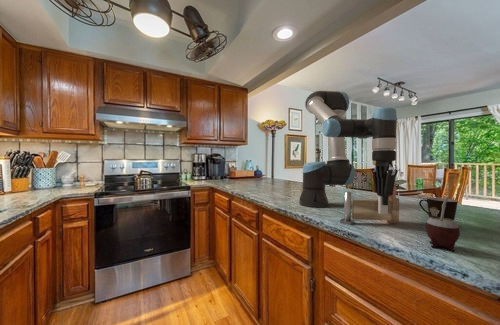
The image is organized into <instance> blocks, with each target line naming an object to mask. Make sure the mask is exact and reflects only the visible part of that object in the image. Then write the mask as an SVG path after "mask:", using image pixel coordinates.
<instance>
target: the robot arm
mask: <svg viewBox="0 0 500 325" xmlns="http://www.w3.org/2000/svg"><path fill="white" fill-rule="evenodd" d="M304 103H305V104H304V106H305V108H306V111H308V113H309V114H313V115H314V117H316V119H317V120H318V121H319V123H321V124H322V128H321V129H322V133H323V136H325V137H326V138H327V140H328V141H327V142H328V156H329V157H328V159H327V160H326V161H323V160H322V161H313V162H312V161H311V162H306V163H304V164H303V166H302V191H301V194H300V197H299V201H298V202H299V203H298V204H299V205H300V206H303V207H310V208H327V207H329V199H328V196H327V193H326V186H341V187H342V186H349V185H351V184H352V183H353V181H354V180H355V178H356V169H355V166H354V165H353V164H351V163H350V159H349V158H348V157H347V153H346V152H347V151H346V140H345V138H357V139H361V140H362V139H365V140H366V139H369V138H372V139H371V140H372V142H371V143H372V144H371V147H372V150H373V151H372V152H371V160H372V161H373V162H375V164H374V168H373V167H371V173H372V178H373V179H372V180H373V188H374V193H375V194H376V195H377V197H378V198H377V200H378V213H379V214H388V197H389V196H392V195H393V189H394V187H395V184H396V177H397V175H398V172H399V171H398V169H394V165H393V162H394V161H396V160H397V151H396V148H397V126H398V125H397V123H398V122H397V121H398V118H397V115H398V114H397V110H396V108H394V107H381V108H377V109H374V110H373V111H372V115H371V118H368V119H360V118H359V119H351V118H344V116H345V115H346V113H347V111H348V110H349V107H350V106H349V105H350V98H349V95H348V94H347V93H346V92H345V91H339V90H337V91H334V90H332V91H331V90H330V91H329V90H316V91H314V92H312V93H310V94H309V95H308V96H307V98H306V100H305V102H304Z"/></svg>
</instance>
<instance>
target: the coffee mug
mask: <svg viewBox="0 0 500 325" xmlns="http://www.w3.org/2000/svg"><path fill="white" fill-rule="evenodd" d="M446 198H447V197H446ZM446 198H445V197H437V196H436V197H435V196H430V197H426V198H425V199H424V198H423V199H420V200H419V202H418V204H419V207H420V208H421V209H422V211H424V212H425V213H426V214H427V215H428V217H429V218H430V217H441V212H442V204H443V202H444V201H445V199H446ZM422 202H426V203H427V204H426V205H427V210H428V211H427V210H426V209H425V208H424V207H423V205H422ZM458 203H459V202H458V200H457V199H453V198H449V199H448V201H447V202H446V208H445V210H444V216H443V218H447V219H451V220H454V221H455V218H456V213H457V208H458ZM429 218H428V219H429Z"/></svg>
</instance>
